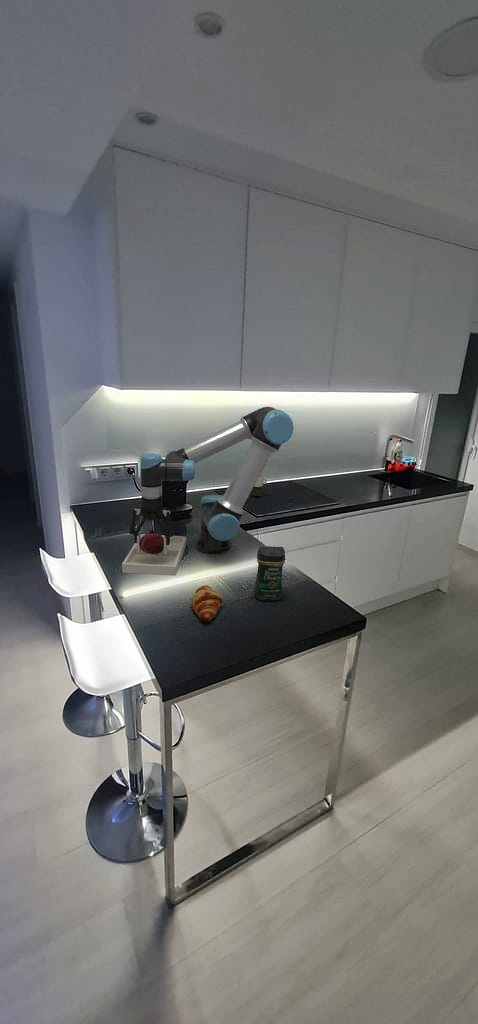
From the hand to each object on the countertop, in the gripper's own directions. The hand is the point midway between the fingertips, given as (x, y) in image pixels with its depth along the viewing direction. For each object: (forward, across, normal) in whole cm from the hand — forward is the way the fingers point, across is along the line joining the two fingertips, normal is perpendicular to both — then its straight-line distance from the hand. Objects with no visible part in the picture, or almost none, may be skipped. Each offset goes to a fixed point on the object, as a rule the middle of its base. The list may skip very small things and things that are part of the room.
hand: (152, 551), depth 164 cm
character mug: (+5, -42, -97) cm, 106 cm away
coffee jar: (+6, -44, +19) cm, 48 cm away
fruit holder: (+6, 0, -7) cm, 9 cm away
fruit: (+1, 0, 0) cm, 1 cm away
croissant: (+6, -24, +28) cm, 37 cm away
